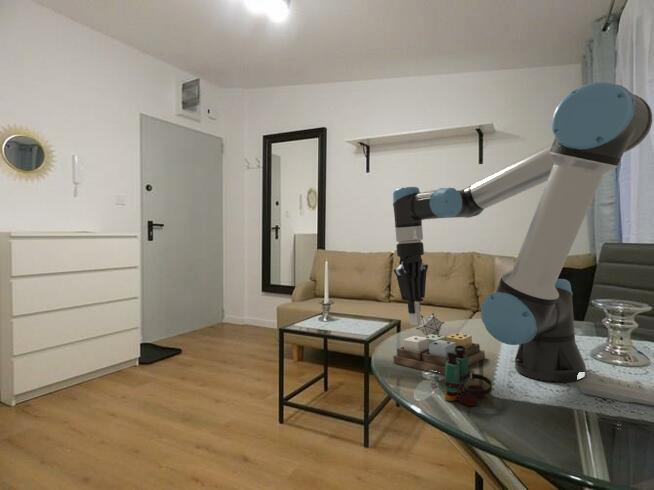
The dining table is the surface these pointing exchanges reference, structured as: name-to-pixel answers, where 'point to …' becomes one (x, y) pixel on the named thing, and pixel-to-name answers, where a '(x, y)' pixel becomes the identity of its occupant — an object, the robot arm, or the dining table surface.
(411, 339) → the button one
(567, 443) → the dining table surface
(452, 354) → the binoculars
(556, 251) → the robot arm
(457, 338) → the button four
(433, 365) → the wooden compartment tray
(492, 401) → the dining table surface
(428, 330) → the game die
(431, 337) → the button three
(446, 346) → the button two
